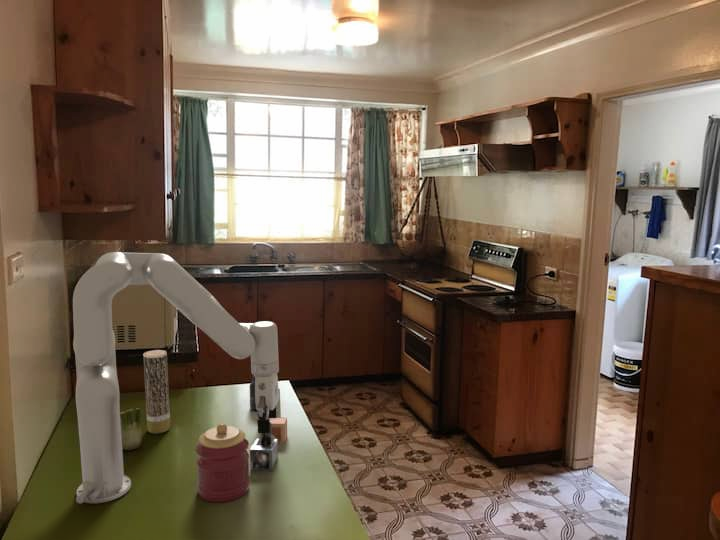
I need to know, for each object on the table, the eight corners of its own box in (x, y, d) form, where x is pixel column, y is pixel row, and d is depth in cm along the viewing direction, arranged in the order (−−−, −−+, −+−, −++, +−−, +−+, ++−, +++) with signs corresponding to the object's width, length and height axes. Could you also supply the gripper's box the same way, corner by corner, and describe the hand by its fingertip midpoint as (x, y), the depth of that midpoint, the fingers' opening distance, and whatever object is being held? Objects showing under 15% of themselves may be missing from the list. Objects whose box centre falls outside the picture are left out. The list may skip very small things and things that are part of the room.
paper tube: (173, 425, 184) (170, 350, 181) (164, 435, 178) (160, 356, 174) (153, 424, 185) (149, 349, 181) (143, 434, 178) (139, 356, 175)
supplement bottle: (246, 410, 197) (245, 377, 195) (255, 403, 203) (254, 370, 201) (264, 413, 195) (263, 379, 193) (273, 405, 201) (272, 372, 200)
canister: (195, 481, 150) (192, 417, 148) (245, 473, 155) (243, 410, 152) (200, 507, 138) (197, 438, 136) (254, 497, 143) (252, 430, 140)
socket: (284, 442, 173) (284, 423, 172) (261, 442, 173) (261, 423, 172) (287, 436, 177) (286, 417, 176) (264, 435, 178) (264, 417, 177)
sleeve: (272, 470, 156) (272, 450, 155) (250, 470, 156) (249, 449, 155) (277, 456, 164) (277, 437, 163) (256, 456, 164) (256, 436, 163)
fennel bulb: (142, 443, 172) (140, 405, 170) (142, 451, 167) (139, 411, 165) (121, 446, 170) (119, 407, 168) (120, 454, 165) (118, 414, 164)
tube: (268, 466, 157) (267, 433, 156) (255, 466, 157) (254, 432, 156) (276, 446, 169) (276, 415, 167) (264, 446, 169) (263, 415, 168)
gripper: (272, 377, 150) (275, 439, 153) (283, 356, 167) (285, 412, 170) (244, 377, 151) (247, 438, 154) (258, 356, 168) (260, 412, 171)
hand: (267, 425), depth 162 cm, fingers open, 9 cm apart
